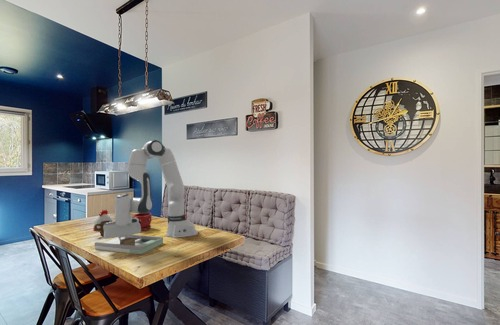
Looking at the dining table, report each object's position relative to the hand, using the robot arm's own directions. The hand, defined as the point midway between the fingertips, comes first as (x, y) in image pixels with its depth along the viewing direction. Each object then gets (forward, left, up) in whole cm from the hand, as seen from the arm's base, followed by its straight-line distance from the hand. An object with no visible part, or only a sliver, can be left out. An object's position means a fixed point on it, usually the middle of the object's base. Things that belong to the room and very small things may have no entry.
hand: (123, 243), depth 151 cm
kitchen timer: (+28, -54, -3) cm, 61 cm away
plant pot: (-3, -44, -3) cm, 45 cm away
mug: (+22, -34, -3) cm, 41 cm away
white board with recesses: (-3, -3, -3) cm, 5 cm away
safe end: (-14, +3, -3) cm, 15 cm away
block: (-3, +3, -1) cm, 5 cm away
